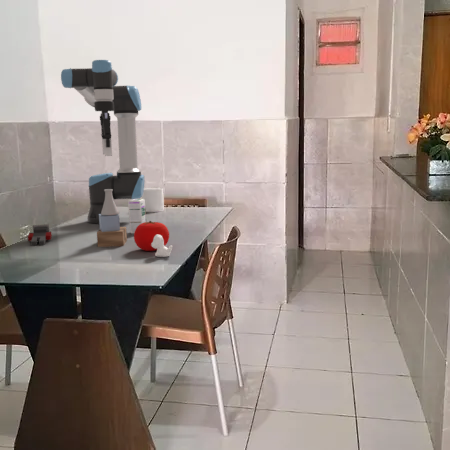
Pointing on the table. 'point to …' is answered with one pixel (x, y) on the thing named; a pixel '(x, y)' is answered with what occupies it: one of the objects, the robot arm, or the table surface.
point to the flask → (109, 204)
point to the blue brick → (109, 223)
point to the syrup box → (136, 213)
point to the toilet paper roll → (153, 199)
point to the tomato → (150, 234)
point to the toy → (39, 234)
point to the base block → (112, 238)
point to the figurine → (161, 247)
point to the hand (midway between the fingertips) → (107, 155)
